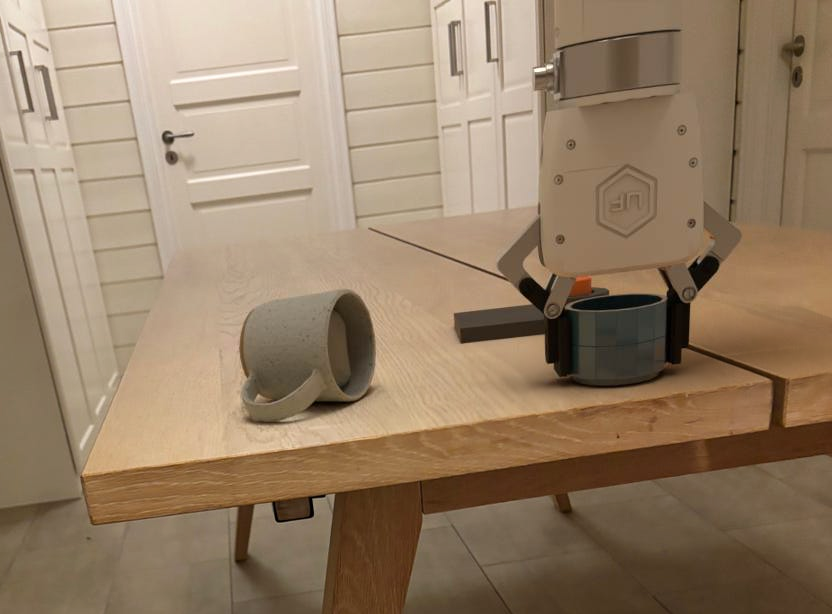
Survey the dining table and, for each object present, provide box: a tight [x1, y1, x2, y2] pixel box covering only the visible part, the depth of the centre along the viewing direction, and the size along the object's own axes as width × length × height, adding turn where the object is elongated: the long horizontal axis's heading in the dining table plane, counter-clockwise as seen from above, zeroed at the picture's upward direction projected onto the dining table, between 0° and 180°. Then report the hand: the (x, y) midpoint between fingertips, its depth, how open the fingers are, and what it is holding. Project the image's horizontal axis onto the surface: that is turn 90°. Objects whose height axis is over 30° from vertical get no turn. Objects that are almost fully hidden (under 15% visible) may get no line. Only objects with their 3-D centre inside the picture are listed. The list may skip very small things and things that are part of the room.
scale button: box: [569, 276, 592, 296], centre depth 85 cm, size 3×3×2 cm
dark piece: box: [453, 286, 610, 345], centre depth 88 cm, size 13×10×3 cm
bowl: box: [565, 292, 669, 387], centre depth 67 cm, size 7×7×5 cm
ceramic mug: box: [238, 288, 377, 423], centre depth 69 cm, size 11×8×8 cm
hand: (615, 364), depth 68 cm, fingers closed on bowl, 6 cm apart
